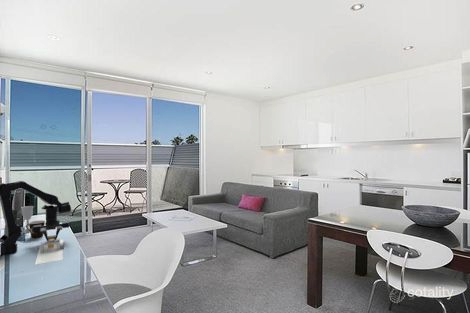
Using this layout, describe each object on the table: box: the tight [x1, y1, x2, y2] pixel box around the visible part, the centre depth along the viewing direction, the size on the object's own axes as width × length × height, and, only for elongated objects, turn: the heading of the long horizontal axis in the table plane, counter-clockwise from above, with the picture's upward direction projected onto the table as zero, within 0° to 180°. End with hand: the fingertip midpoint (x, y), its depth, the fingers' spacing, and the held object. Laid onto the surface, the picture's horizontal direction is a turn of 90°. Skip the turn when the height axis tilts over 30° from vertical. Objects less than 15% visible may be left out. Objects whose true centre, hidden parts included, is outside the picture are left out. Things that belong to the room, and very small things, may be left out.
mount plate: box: [34, 239, 64, 266], centre depth 150 cm, size 12×38×1 cm, turn 32°
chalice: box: [20, 205, 34, 234], centre depth 188 cm, size 7×7×18 cm
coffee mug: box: [25, 219, 46, 239], centre depth 178 cm, size 12×9×10 cm
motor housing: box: [39, 239, 65, 253], centre depth 151 cm, size 11×5×5 cm, turn 122°
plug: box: [48, 234, 57, 248], centre depth 161 cm, size 4×14×3 cm, turn 33°
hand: (51, 240), depth 165 cm, fingers closed on plug, 4 cm apart
